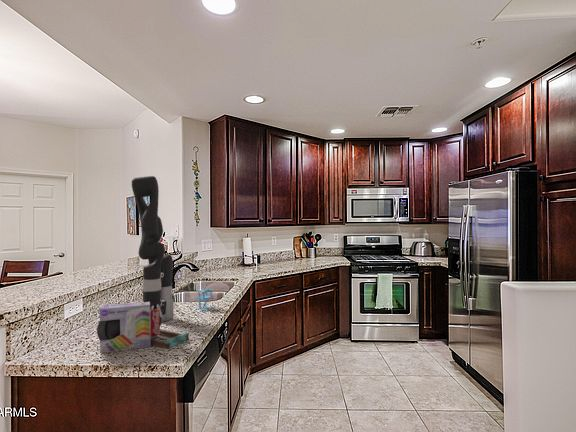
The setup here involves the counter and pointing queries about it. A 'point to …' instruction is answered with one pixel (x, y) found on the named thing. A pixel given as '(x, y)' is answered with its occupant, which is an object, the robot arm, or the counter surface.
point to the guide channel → (174, 339)
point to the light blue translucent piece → (204, 298)
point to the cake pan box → (124, 326)
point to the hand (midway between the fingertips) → (152, 327)
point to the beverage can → (155, 322)
